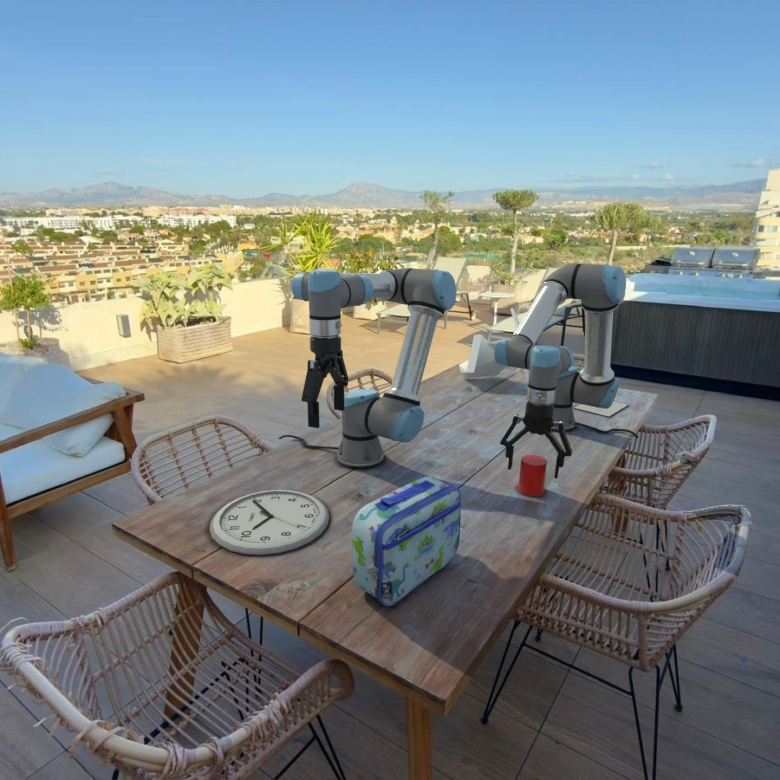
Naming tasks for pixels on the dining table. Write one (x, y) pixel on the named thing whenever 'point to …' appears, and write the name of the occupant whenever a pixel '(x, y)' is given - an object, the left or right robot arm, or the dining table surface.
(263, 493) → the wall clock
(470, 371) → the white plastic object
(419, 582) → the lunch box
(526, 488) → the tin
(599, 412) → the invitation card
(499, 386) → the dining table surface
